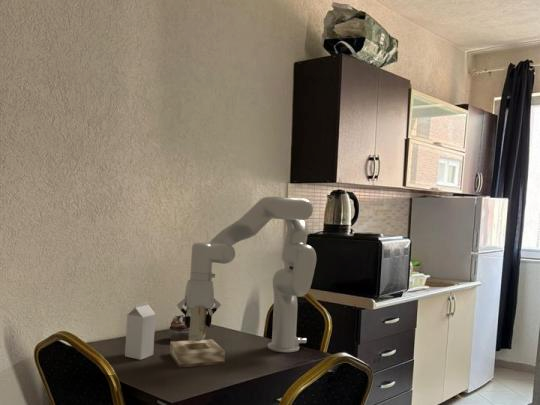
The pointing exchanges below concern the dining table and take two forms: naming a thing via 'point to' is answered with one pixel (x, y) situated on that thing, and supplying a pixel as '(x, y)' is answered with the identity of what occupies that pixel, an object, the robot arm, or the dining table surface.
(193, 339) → the skincare box
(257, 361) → the dining table surface
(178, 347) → the socket block
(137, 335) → the milk carton
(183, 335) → the cupcake
